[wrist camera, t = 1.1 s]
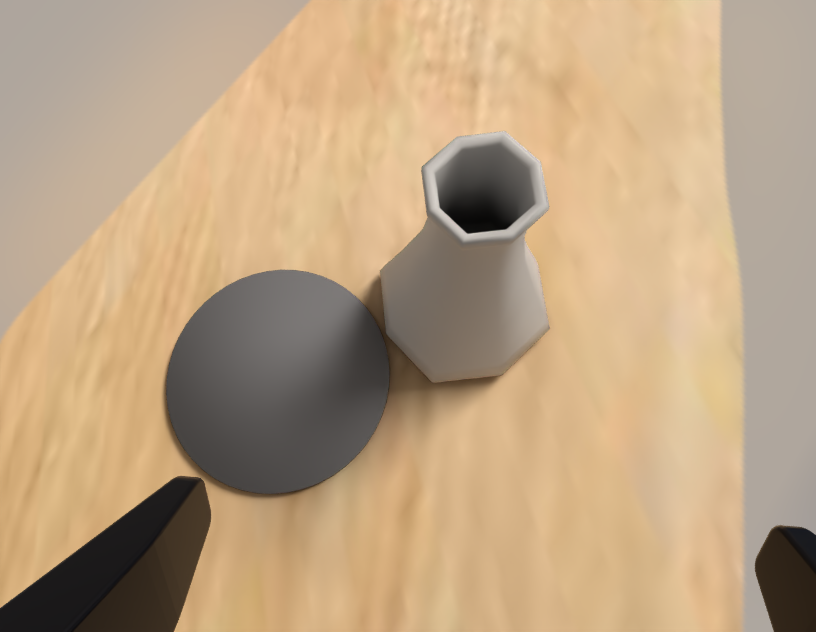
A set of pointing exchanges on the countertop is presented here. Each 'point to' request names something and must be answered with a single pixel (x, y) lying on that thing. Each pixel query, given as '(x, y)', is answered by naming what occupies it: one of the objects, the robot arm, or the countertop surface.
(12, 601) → the robot arm
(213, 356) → the rubber mat
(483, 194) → the flask
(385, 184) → the countertop surface
